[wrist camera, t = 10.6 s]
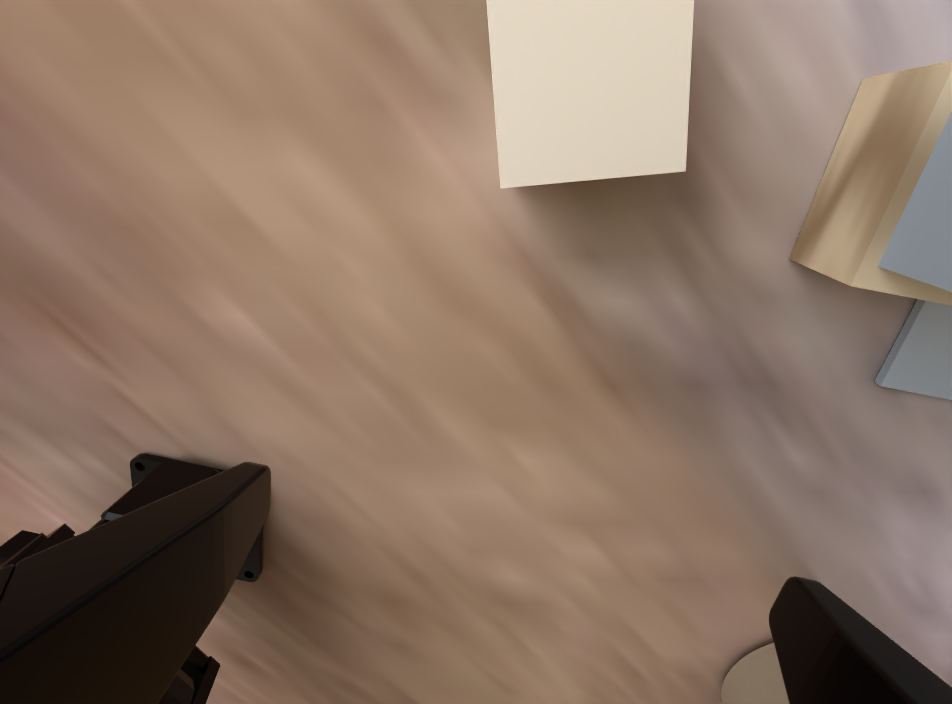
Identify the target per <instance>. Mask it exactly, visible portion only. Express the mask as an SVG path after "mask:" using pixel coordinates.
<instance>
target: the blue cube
mask: <svg viewBox="0 0 952 704" xmlns="http://www.w3.org/2000/svg"><path fill="white" fill-rule="evenodd" d="M878 267H881V268H884V269H887V270H890V271H893V272H896V273H899V274H901V275H904V276H907V277H910V278H913V279H916V280H919V281H922V282H925V283H927V284H930V285H933V286H936V287H939V288H942V289H945V290H948V291H950V292H952V112H951V114H950V116H949V118H948V120H947V122H946V124H945V126H944V128H943V130H942V132H941V135H940V137H939V139H938V141H937V143H936V145H935V147H934V149H933V151H932V153H931V155H930V157H929V160H928V162H927V164H926V166H925V168H924V170H923V172H922V174H921V176H920V178H919V180H918V182H917V185H916V187H915V189H914V191H913V193H912V195H911V197H910V199H909V201H908V203H907V205H906V208H905V210H904V212H903V214H902V216H901V218H900V220H899V222H898V224H897V226H896V228H895V230H894V233H893V235H892V237H891V239H890V241H889V243H888V245H887V247H886V249H885V251H884V253H883V255H882V258H881V260H880V262H879V264H878Z"/></svg>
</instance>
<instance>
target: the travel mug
mask: <svg viewBox="0 0 952 704" xmlns="http://www.w3.org/2000/svg"><path fill="white" fill-rule="evenodd" d="M721 702H722V704H789V701H788V697H787V693H786V689H785V685H784V681H783V677H782V673H781V669H780V665H779V661H778V657H777V653H776V649H775V645H774V643H771V644H769V645H766V646H763V647H761V648H759V649H757V650H755V651H753V652H751V653H749V654H748V655H746V656H745V657H743V658H742V659H741V660H740V661H738V662H737V663H736V664H735V665H734V666H733V667H732V669H731V670H730V671H729V672H728V674H727V675H726V677H725V679H724V682H723V685H722V689H721Z"/></svg>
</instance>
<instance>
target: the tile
mask: <svg viewBox="0 0 952 704" xmlns="http://www.w3.org/2000/svg"><path fill="white" fill-rule="evenodd" d="M874 382H875V383H877V384H878V385H880V386H882V387H887V388H892V389H897V390H902V391H907V392H912V393H917V394H923V395H928V396H933V397H938V398H943V399H948V400H952V306H951V305H946V304H940V303H935V302H930V301H925V300H920V299H917V301H916V303H915V305H914V307H913V309H912V311H911V313H910V315H909V316H908V318H907V320H906V322H905V324H904V326H903V328H902V330H901V332H900V334H899V335H898V337H897V339H896V341H895V343H894V345H893V347H892V349H891V351H890V353H889V355H888V356H887V358H886V360H885V362H884V364H883V366H882V368H881V370H880V372H879V374H878V376H877V377H876V379H875V381H874Z"/></svg>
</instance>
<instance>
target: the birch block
mask: <svg viewBox="0 0 952 704" xmlns="http://www.w3.org/2000/svg"><path fill="white" fill-rule="evenodd" d="M951 112H952V61H948V62H943V63H939V64H934V65H929V66H924V67H919V68H914V69H909V70H904V71H899V72H894V73H890V74H885V75H880V76H875V77H870V78H865V79H863V80H862V83H861V85H860V88H859V90H858V92H857V95H856V97H855V100H854V102H853V105H852V107H851V109H850V112H849V114H848V117H847V119H846V122H845V124H844V126H843V129H842V131H841V134H840V136H839V139H838V141H837V143H836V146H835V148H834V151H833V153H832V156H831V158H830V160H829V163H828V165H827V168H826V170H825V173H824V175H823V177H822V180H821V182H820V185H819V187H818V190H817V192H816V194H815V197H814V199H813V202H812V204H811V207H810V209H809V212H808V214H807V216H806V219H805V221H804V224H803V226H802V229H801V231H800V233H799V236H798V238H797V241H796V243H795V246H794V248H793V250H792V253H791V255H790V258H789V259H790V260H792V261H794V262H797V263H799V264H801V265H804V266H806V267H808V268H810V269H813V270H815V271H817V272H819V273H822V274H824V275H826V276H829V277H831V278H833V279H835V280H838V281H840V282H842V283H844V284H847V285H849V286H852V287H857V288H863V289H868V290H873V291H878V292H883V293H889V294H894V295H899V296H904V297H909V298H915V299H920V300H925V301H930V302H935V303H940V304H946V305H951V306H952V292H950V291H948V290H945V289H942V288H939V287H936V286H933V285H930V284H927V283H925V282H922V281H919V280H916V279H913V278H910V277H907V276H904V275H901V274H899V273H896V272H893V271H890V270H887V269H884V268H881V267H878V264H879V262H880V260H881V258H882V255H883V253H884V251H885V249H886V247H887V245H888V243H889V241H890V239H891V237H892V235H893V233H894V230H895V228H896V226H897V224H898V222H899V220H900V218H901V216H902V214H903V212H904V210H905V208H906V205H907V203H908V201H909V199H910V197H911V195H912V193H913V191H914V189H915V187H916V185H917V182H918V180H919V178H920V176H921V174H922V172H923V170H924V168H925V166H926V164H927V162H928V160H929V157H930V155H931V153H932V151H933V149H934V147H935V145H936V143H937V141H938V139H939V137H940V135H941V132H942V130H943V128H944V126H945V124H946V122H947V120H948V118H949V116H950V114H951Z"/></svg>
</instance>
